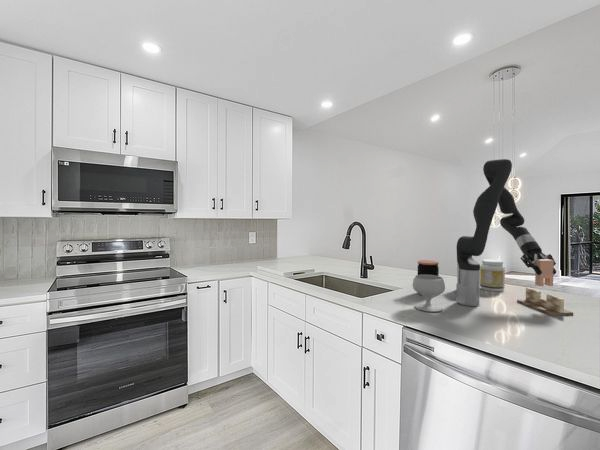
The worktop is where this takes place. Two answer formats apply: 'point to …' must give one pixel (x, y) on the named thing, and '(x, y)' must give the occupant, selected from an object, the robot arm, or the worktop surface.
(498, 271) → the supplement tub
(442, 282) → the chalice
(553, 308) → the ridged rail
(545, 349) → the worktop surface
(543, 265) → the slotted upright
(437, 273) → the coffee jar
